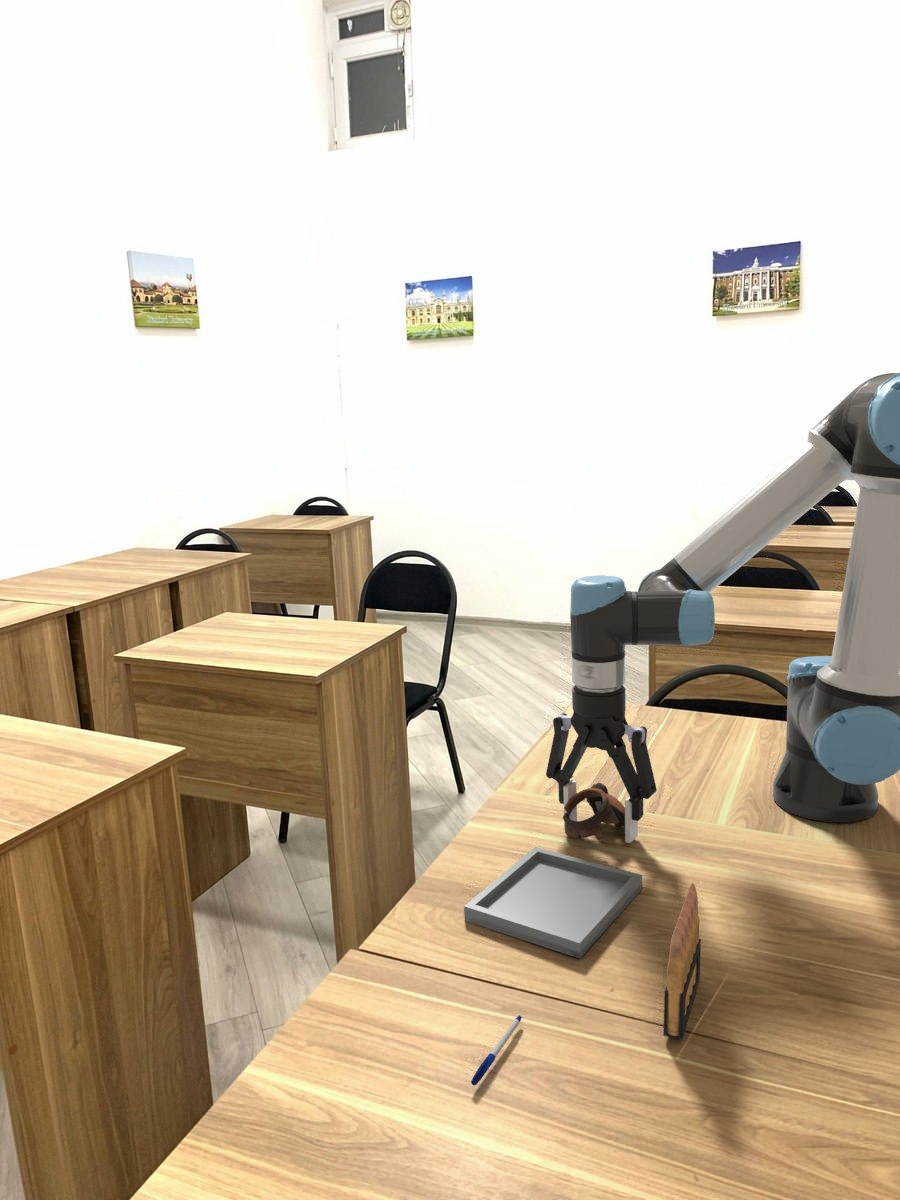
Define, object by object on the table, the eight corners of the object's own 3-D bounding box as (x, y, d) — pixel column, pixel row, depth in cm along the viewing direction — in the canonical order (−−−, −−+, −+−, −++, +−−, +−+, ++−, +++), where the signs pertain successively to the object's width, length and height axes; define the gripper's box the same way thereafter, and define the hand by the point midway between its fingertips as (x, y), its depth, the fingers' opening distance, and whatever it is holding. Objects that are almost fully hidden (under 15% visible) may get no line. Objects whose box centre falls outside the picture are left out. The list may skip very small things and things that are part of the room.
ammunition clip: (681, 1041, 92) (684, 935, 90) (663, 1036, 93) (665, 931, 90) (699, 978, 102) (703, 880, 99) (682, 974, 103) (685, 877, 100)
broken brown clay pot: (641, 854, 131) (616, 815, 128) (582, 876, 134) (555, 837, 131) (634, 798, 141) (610, 760, 138) (578, 819, 144) (554, 782, 141)
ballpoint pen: (478, 1088, 87) (478, 1079, 87) (470, 1085, 88) (469, 1076, 87) (522, 1020, 96) (522, 1012, 96) (514, 1018, 97) (514, 1010, 96)
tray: (642, 889, 121) (642, 875, 120) (579, 958, 106) (579, 943, 106) (535, 860, 130) (535, 846, 129) (464, 920, 115) (464, 906, 115)
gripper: (518, 682, 134) (523, 825, 139) (661, 703, 122) (661, 859, 126) (543, 668, 140) (547, 806, 145) (682, 688, 128) (681, 837, 132)
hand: (600, 831), depth 136 cm, fingers closed on broken brown clay pot, 9 cm apart
